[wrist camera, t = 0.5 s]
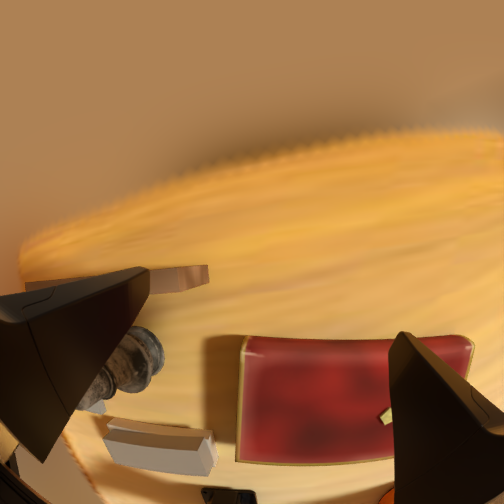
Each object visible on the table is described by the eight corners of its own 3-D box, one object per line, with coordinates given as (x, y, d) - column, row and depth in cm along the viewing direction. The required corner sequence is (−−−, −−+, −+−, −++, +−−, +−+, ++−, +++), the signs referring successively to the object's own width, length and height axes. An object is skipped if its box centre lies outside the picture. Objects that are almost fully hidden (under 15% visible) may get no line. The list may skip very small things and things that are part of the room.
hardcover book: (246, 332, 23) (239, 347, 19) (454, 331, 21) (477, 341, 17) (241, 438, 23) (234, 463, 19) (427, 429, 21) (442, 448, 17)
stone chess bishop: (108, 350, 24) (26, 391, 12) (132, 310, 24) (40, 340, 12) (149, 389, 24) (81, 452, 12) (178, 351, 23) (106, 413, 11)
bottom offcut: (219, 453, 23) (214, 466, 21) (126, 440, 24) (117, 450, 22) (213, 426, 23) (208, 439, 21) (116, 415, 25) (106, 424, 22)
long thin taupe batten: (209, 282, 23) (179, 292, 16) (72, 292, 25) (26, 299, 18) (207, 264, 23) (177, 267, 16) (71, 278, 25) (24, 282, 18)
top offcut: (213, 462, 21) (208, 476, 18) (124, 452, 22) (115, 463, 20) (204, 436, 21) (197, 450, 19) (113, 428, 22) (102, 438, 20)
